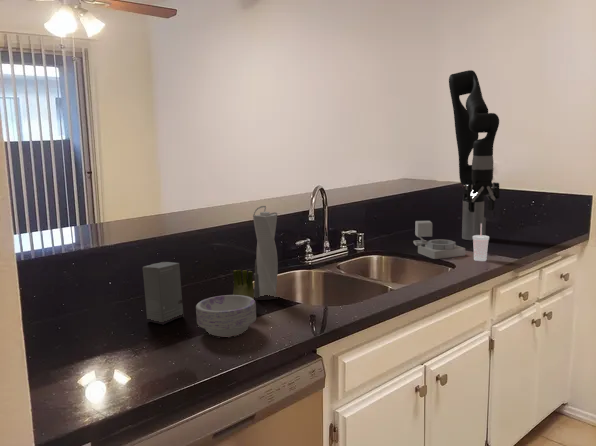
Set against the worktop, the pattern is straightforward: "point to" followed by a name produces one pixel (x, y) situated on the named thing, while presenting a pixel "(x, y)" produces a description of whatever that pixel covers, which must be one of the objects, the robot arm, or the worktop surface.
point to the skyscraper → (265, 254)
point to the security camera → (422, 231)
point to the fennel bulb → (243, 283)
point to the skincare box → (162, 291)
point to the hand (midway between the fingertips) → (481, 211)
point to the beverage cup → (480, 246)
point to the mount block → (441, 249)
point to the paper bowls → (226, 314)
